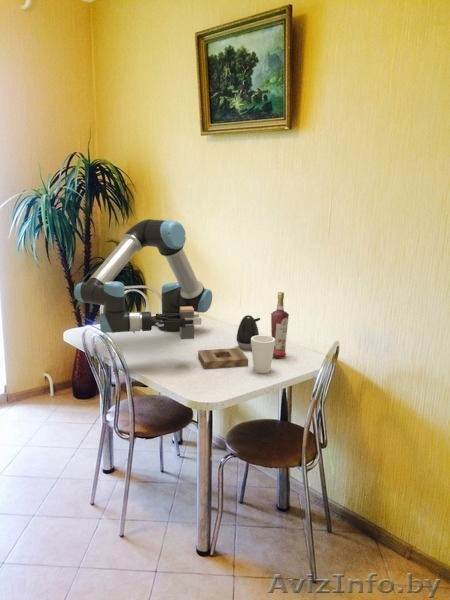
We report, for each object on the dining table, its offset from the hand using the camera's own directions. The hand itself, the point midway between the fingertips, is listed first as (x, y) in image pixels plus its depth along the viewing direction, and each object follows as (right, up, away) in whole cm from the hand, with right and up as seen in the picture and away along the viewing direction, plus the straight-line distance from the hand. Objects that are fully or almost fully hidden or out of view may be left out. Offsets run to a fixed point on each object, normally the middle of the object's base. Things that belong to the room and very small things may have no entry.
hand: (199, 319), depth 192 cm
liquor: (+33, -17, +14) cm, 40 cm away
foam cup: (+25, -20, -2) cm, 32 cm away
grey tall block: (-5, -7, +1) cm, 9 cm away
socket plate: (+9, -18, +7) cm, 21 cm away
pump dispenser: (+20, -14, +25) cm, 35 cm away
